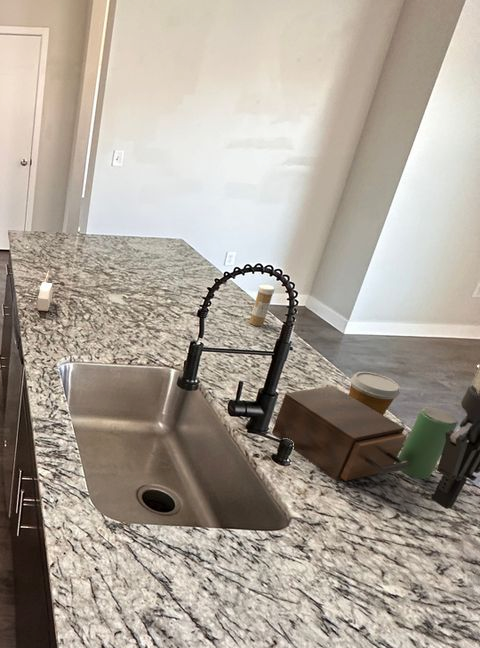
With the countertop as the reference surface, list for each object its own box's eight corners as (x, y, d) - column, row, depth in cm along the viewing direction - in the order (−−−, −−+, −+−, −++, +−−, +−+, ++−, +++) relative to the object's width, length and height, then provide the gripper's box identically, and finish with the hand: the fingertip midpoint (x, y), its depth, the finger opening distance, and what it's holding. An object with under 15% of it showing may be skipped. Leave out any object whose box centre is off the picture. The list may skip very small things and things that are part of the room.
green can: (437, 476, 113) (466, 421, 107) (416, 481, 111) (445, 425, 105) (408, 458, 118) (435, 404, 112) (388, 462, 116) (414, 408, 110)
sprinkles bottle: (248, 320, 183) (259, 283, 178) (263, 323, 182) (274, 285, 176) (248, 324, 180) (259, 287, 174) (263, 328, 178) (275, 290, 172)
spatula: (57, 285, 213) (47, 284, 214) (59, 265, 210) (49, 264, 211) (48, 314, 178) (36, 313, 179) (51, 291, 175) (38, 290, 176)
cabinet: (384, 469, 114) (404, 427, 109) (335, 480, 110) (354, 438, 105) (317, 424, 128) (332, 385, 124) (271, 432, 124) (285, 393, 120)
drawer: (410, 484, 109) (428, 448, 105) (364, 495, 105) (381, 459, 101) (326, 427, 126) (338, 395, 122) (283, 435, 122) (295, 402, 118)
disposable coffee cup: (389, 427, 128) (408, 384, 123) (371, 440, 123) (391, 396, 118) (346, 408, 135) (363, 367, 130) (328, 419, 130) (344, 377, 125)
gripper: (500, 377, 93) (444, 482, 104) (446, 387, 90) (395, 495, 100) (553, 400, 87) (488, 510, 97) (498, 412, 83) (437, 525, 94)
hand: (441, 502), depth 99 cm, fingers closed
